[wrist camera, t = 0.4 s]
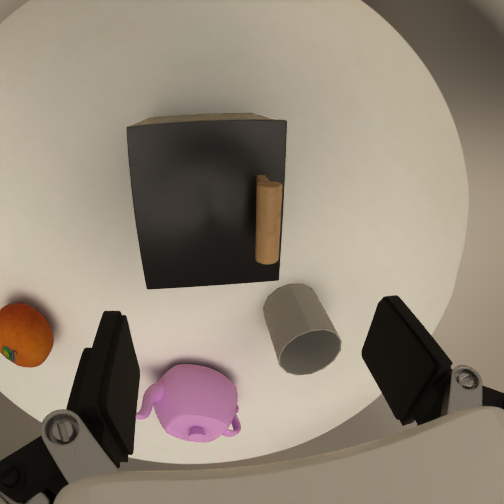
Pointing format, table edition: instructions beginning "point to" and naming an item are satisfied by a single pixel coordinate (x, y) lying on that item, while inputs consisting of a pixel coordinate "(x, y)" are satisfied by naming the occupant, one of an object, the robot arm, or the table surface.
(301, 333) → the faceted grey tumbler
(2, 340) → the fruit
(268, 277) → the box lid
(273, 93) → the table surface
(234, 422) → the teapot
